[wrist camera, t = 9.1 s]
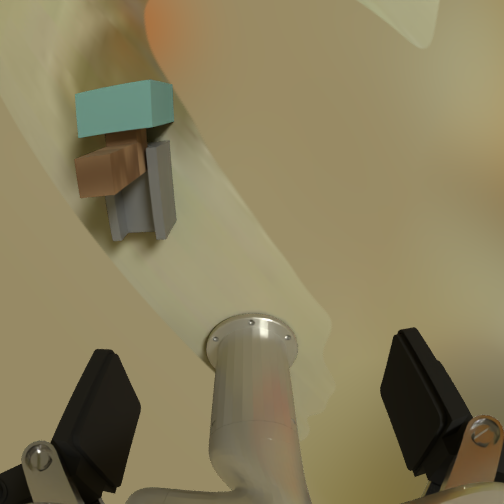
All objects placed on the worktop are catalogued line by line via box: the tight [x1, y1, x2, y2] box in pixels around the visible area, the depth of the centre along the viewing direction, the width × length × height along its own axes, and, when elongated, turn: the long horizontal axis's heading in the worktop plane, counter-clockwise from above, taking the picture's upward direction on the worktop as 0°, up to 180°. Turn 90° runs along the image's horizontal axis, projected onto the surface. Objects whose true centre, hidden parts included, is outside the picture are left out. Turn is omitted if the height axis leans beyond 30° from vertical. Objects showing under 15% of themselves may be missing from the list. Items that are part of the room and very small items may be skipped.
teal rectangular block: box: [75, 80, 174, 138], centre depth 26 cm, size 4×7×8 cm, turn 91°
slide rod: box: [74, 128, 148, 198], centre depth 24 cm, size 7×3×9 cm, turn 1°
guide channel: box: [105, 141, 177, 241], centre depth 31 cm, size 9×6×5 cm, turn 1°
